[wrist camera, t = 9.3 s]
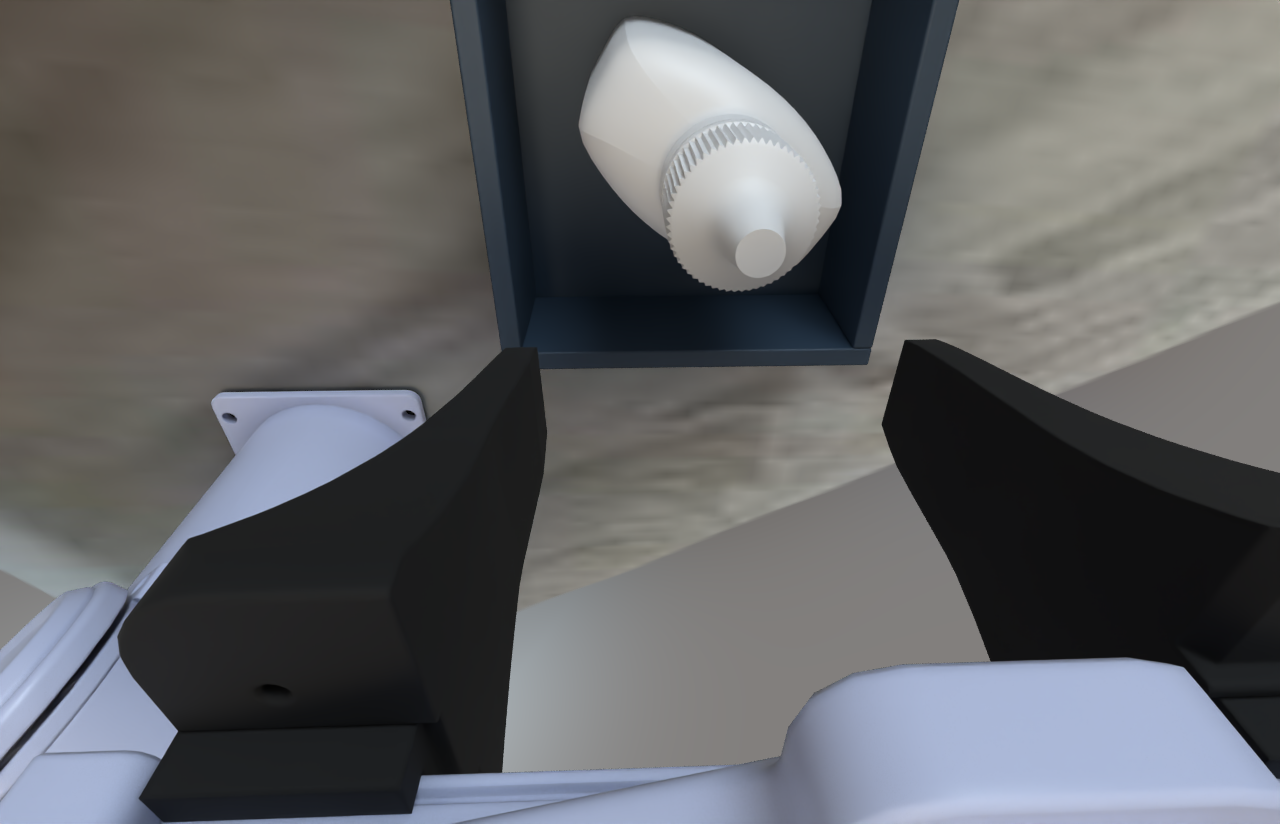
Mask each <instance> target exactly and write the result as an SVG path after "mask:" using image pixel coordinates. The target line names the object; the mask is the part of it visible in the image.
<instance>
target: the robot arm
mask: <svg viewBox="0 0 1280 824" xmlns="http://www.w3.org/2000/svg"><path fill="white" fill-rule="evenodd" d="M211 405H212V408H213V410H214V412H215V414H216V416H217V418H218V420H219V422H220V424H221V426H222V428H223V430H224V433H225V435H226V437H227V439H228V441H229V443H230V445H231V447H232V449H233V451H234V453H235V455H236V456H235V457H234V458H233V459H232V460H231V462H230V463H229V464H228V465H227V467H226V468H225V469H224V470H223V472H222V473H221V474H220V475H219V477H218V478H217V479H216V480H215V482H214V483H213V484H212V485H211V487H210V488H209V489H208V490H207V491H206V493H205V494H204V495H203V496H202V498H201V499H200V500H199V501H198V503H197V504H196V505H195V506H194V508H193V509H192V510H191V511H190V513H189V514H188V515H187V516H186V518H185V519H184V520H183V521H182V522H181V524H180V525H179V526H178V527H177V529H176V530H175V531H174V532H173V534H172V535H171V536H170V537H169V539H168V540H167V541H166V542H165V544H164V545H163V546H162V547H161V549H160V550H159V551H158V552H157V554H156V555H155V556H154V557H153V558H152V560H151V561H150V562H149V563H148V565H147V566H146V567H145V568H144V570H143V571H142V572H141V573H140V575H139V576H138V577H137V578H136V580H135V581H134V582H133V583H132V585H131V586H130V587H129V588H128V589H127V590H126V589H124V588H122V587H120V586H118V585H116V584H114V583H112V582H107V581H104V582H100V583H98V584H96V585H94V586H93V587H85V588H80V589H76V590H71V591H67V592H65V593H63V594H62V595H60V596H59V597H58V598H56V599H55V600H54V601H53V602H51V603H50V604H49V605H48V606H47V607H45V608H44V609H43V610H42V611H41V612H40V613H39V614H38V615H36V617H34V618H33V619H32V620H31V621H30V622H29V623H28V624H27V625H26V626H25V627H24V628H23V629H21V630H20V631H19V632H18V633H17V634H16V635H15V636H14V637H13V638H12V639H11V640H10V641H9V642H8V643H7V644H6V645H5V646H4V647H3V648H2V649H1V650H0V824H1280V473H1278V472H1274V471H1269V470H1266V469H1262V468H1258V467H1254V466H1251V465H1247V464H1243V463H1239V462H1235V461H1231V460H1229V459H1225V458H1222V457H1219V456H1215V455H1212V454H1208V453H1205V452H1202V451H1198V450H1195V449H1192V448H1188V447H1185V446H1182V445H1179V444H1176V443H1173V442H1170V441H1167V440H1164V439H1161V438H1158V437H1155V436H1152V435H1150V434H1147V433H1145V432H1142V431H1139V430H1136V429H1134V428H1131V427H1128V426H1126V425H1123V424H1120V423H1117V422H1115V421H1112V420H1110V419H1107V418H1105V417H1103V416H1100V415H1098V414H1095V413H1093V412H1090V411H1088V410H1086V409H1084V408H1081V407H1079V406H1077V405H1075V404H1072V403H1070V402H1068V401H1066V400H1064V399H1061V398H1059V397H1057V396H1055V395H1053V394H1050V393H1048V392H1046V391H1044V390H1042V389H1040V388H1038V387H1036V386H1034V385H1032V384H1030V383H1028V382H1026V381H1024V380H1022V379H1020V378H1018V377H1016V376H1014V375H1012V374H1010V373H1008V372H1006V371H1004V370H1002V369H1000V368H998V367H996V366H994V365H992V364H990V363H988V362H986V361H984V360H982V359H980V358H978V357H976V356H974V355H972V354H970V353H967V352H965V351H963V350H961V349H959V348H957V347H954V346H952V345H950V344H947V343H945V342H942V341H939V340H936V339H929V340H905V341H904V345H903V348H902V352H901V356H900V359H899V363H898V366H897V370H896V374H895V377H894V381H893V385H892V388H891V392H890V395H889V399H888V403H887V406H886V410H885V414H884V417H883V421H882V427H883V430H884V433H885V436H886V439H887V442H888V445H889V448H890V450H891V453H892V455H893V458H894V461H895V463H896V466H897V467H898V469H899V471H900V473H901V475H902V477H903V479H904V481H905V482H906V484H907V486H908V488H909V490H910V491H911V493H912V495H913V497H914V499H915V500H916V502H917V504H918V506H919V507H920V509H921V511H922V513H923V515H924V516H925V518H926V520H927V522H928V523H929V525H930V527H931V529H932V530H933V532H934V534H935V536H936V538H937V539H938V541H939V543H940V545H941V546H942V548H943V550H944V552H945V553H946V555H947V557H948V559H949V561H950V563H951V565H952V567H953V569H954V571H955V573H956V576H957V578H958V580H959V583H960V585H961V587H962V590H963V592H964V595H965V597H966V599H967V602H968V604H969V606H970V609H971V611H972V614H973V616H974V619H975V621H976V624H977V626H978V629H979V632H980V634H981V637H982V640H983V642H984V645H985V647H986V650H987V653H988V655H989V658H990V661H991V662H964V663H963V662H962V663H933V664H932V663H930V664H902V665H896V666H890V667H885V668H879V669H873V670H868V671H862V672H856V673H852V674H850V675H849V676H846V677H844V678H843V679H841V680H839V681H837V682H835V683H833V684H831V685H829V686H827V687H825V688H823V689H821V690H819V691H817V692H815V693H814V694H813V695H812V697H811V698H810V699H809V700H808V702H807V703H806V705H805V706H804V707H803V708H802V710H801V711H800V712H799V714H798V715H797V716H796V718H795V719H794V720H793V722H792V723H791V724H790V726H789V727H788V731H787V734H786V739H785V742H784V746H783V750H782V754H781V756H779V757H774V758H768V759H763V760H758V761H754V762H749V763H744V764H739V765H712V766H684V767H655V768H626V769H596V770H569V771H567V770H566V771H539V772H511V773H510V772H508V773H502V767H503V753H504V738H505V727H506V716H507V704H508V691H509V680H510V669H511V660H512V650H513V640H514V630H515V621H516V612H517V603H518V594H519V586H520V580H521V574H522V569H523V563H524V559H525V555H526V550H527V546H528V541H529V537H530V532H531V528H532V524H533V519H534V515H535V510H536V506H537V501H538V497H539V492H540V488H541V483H542V478H543V474H544V463H545V452H546V439H547V427H546V418H545V410H544V401H543V392H542V384H541V375H540V367H539V358H538V349H537V347H512V348H505V349H504V350H503V351H502V352H501V353H500V354H499V355H498V356H497V357H496V358H495V359H494V360H493V361H492V362H490V363H489V364H488V365H487V366H486V367H485V368H484V369H483V370H482V371H481V372H480V373H479V374H478V375H477V376H476V377H475V378H474V379H473V380H472V381H471V382H470V383H469V384H468V385H467V386H466V387H465V388H464V389H463V390H462V391H461V392H460V393H459V394H458V395H456V396H455V397H454V398H453V399H452V400H451V401H449V402H448V403H447V404H446V405H445V406H443V407H442V408H441V409H440V410H439V411H437V412H436V413H435V414H434V415H433V416H432V417H430V418H429V419H428V420H427V421H426V417H425V413H424V409H423V405H422V401H421V398H420V396H419V395H418V394H417V393H415V392H413V391H411V390H354V391H280V392H223V393H219V394H218V395H217V396H216V397H215V398H214V399H213V400H212V402H211ZM406 410H409V411H412V412H414V413H415V415H409V414H408V413H406ZM229 413H231V414H233V415H234V416H235V417H236V418H235V417H232V416H230V415H229Z"/></svg>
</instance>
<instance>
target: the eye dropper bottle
mask: <svg viewBox="0 0 1280 824" xmlns="http://www.w3.org/2000/svg"><path fill="white" fill-rule="evenodd" d="M578 126H579V130H580V134H581V138H582V141H583V144H584V146H585V148H586V150H587V152H588V154H589V155H590V157H591V159H592V161H593V162H594V164H595V165H596V167H597V168H598V170H599V171H600V173H601V174H602V176H603V177H604V178H605V180H606V181H607V182H608V184H609V185H610V186H611V187H612V189H613V190H614V191H615V192H616V194H617V195H618V196H619V197H620V198H621V200H622V201H623V202H624V203H625V204H626V205H627V206H628V207H629V208H630V209H631V210H632V211H633V212H634V213H635V214H636V215H637V216H638V217H639V218H640V219H642V220H643V221H644V222H645V223H646V224H647V225H649V226H650V227H651V228H652V229H654V230H655V231H656V232H657V233H659V234H660V235H662V236H663V237H664V238H666V239H667V240H668V242H669V243H670V248H671V250H673V254H674V256H675V257H677V261H678V263H680V264H681V265H682V268H683V269H686V270H687V274H691V275H692V277H693V278H694V279H698V281H699V282H703V283H705V286H710V285H711V286H712V288H718V289H719V290H723V289H725V290H726V292H727V291H730V290H732V291H733V292H735V291H738V290H739V291H741V292H742V291H744V290H748V291H750V290H751V289H753V288H754V289H757V288H759V287H760V286H763V287H764V286H765V285H766V284H771V283H772V282H773V281H774V280H778V279H779V278H780V276H784V275H785V274H786V272H788V271H790V270H791V269H792V267H793V266H795V265H797V264H798V263H799V262H800V261H801V260H802V259H803V258H804V257H805V256H806V255H807V254H808V253H809V251H810V250H811V249H812V248H813V247H814V246H815V244H816V243H817V242H818V241H819V240H820V238H821V237H822V236H823V235H824V233H825V232H826V231H827V230H828V228H829V227H830V225H831V224H832V223H833V221H834V220H835V219H836V217H837V214H838V212H839V210H840V207H841V204H842V198H841V187H840V184H839V181H838V177H837V175H836V172H835V170H834V168H833V166H832V163H831V161H830V159H829V157H828V156H827V154H826V152H825V150H824V148H823V147H822V145H821V143H820V142H819V140H818V139H817V137H816V135H815V134H814V133H813V131H812V130H811V129H810V127H809V126H808V125H807V123H806V122H805V121H804V120H803V118H802V117H801V116H800V115H799V114H798V113H797V111H796V110H795V109H794V108H793V107H792V106H791V105H790V104H789V103H788V102H787V101H786V100H785V99H784V98H783V97H782V96H780V95H779V94H778V93H777V92H776V91H775V90H774V89H772V88H771V87H770V86H769V85H768V84H766V83H765V82H764V81H762V80H761V79H760V78H758V77H757V76H756V75H754V74H753V73H751V72H750V71H749V70H747V69H746V68H744V67H743V66H742V65H740V64H739V63H737V62H736V61H734V60H733V59H731V58H730V57H729V56H727V55H726V54H724V53H723V52H721V51H720V50H718V49H717V48H716V47H714V46H713V45H711V44H709V43H708V42H706V41H705V40H703V39H702V38H700V37H698V36H696V35H694V34H693V33H691V32H688V31H686V30H684V29H682V28H680V27H677V26H675V25H672V24H669V23H666V22H663V21H660V20H656V19H652V18H648V17H641V16H632V17H627V18H624V19H623V20H622V21H621V22H620V23H619V24H618V25H617V26H616V27H615V29H614V31H613V32H612V34H611V36H610V37H609V39H608V41H607V43H606V45H605V47H604V49H603V51H602V52H601V54H600V56H599V58H598V60H597V62H596V64H595V66H594V68H593V70H592V72H591V75H590V78H589V82H588V85H587V89H586V92H585V96H584V100H583V104H582V108H581V113H580V119H579V125H578Z"/></svg>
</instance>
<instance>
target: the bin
mask: <svg viewBox="0 0 1280 824" xmlns="http://www.w3.org/2000/svg"><path fill="white" fill-rule="evenodd" d="M958 3H959V0H450V4H451V11H452V18H453V24H454V31H455V38H456V45H457V51H458V58H459V65H460V72H461V79H462V85H463V92H464V99H465V106H466V113H467V119H468V126H469V133H470V140H471V147H472V153H473V160H474V167H475V174H476V180H477V187H478V194H479V201H480V208H481V214H482V221H483V228H484V235H485V242H486V248H487V255H488V262H489V269H490V276H491V282H492V289H493V296H494V303H495V309H496V316H497V323H498V330H499V337H500V343H501V350H502V351H503V350H504V349H505V348H512V347H537V349H538V358H539V367H540V369H580V368H658V367H736V366H814V365H867V364H868V361H869V357H870V353H871V347H872V345H873V341H874V337H875V333H876V329H877V325H878V321H879V317H880V313H881V309H882V305H883V301H884V297H885V293H886V289H887V285H888V281H889V277H890V273H891V269H892V265H893V261H894V257H895V253H896V249H897V245H898V241H899V237H900V233H901V230H902V226H903V222H904V218H905V214H906V210H907V206H908V202H909V198H910V194H911V190H912V186H913V182H914V178H915V174H916V170H917V166H918V162H919V158H920V154H921V150H922V146H923V142H924V138H925V134H926V130H927V126H928V122H929V118H930V114H931V110H932V106H933V102H934V98H935V94H936V90H937V86H938V82H939V78H940V74H941V70H942V66H943V62H944V58H945V54H946V50H947V47H948V43H949V39H950V35H951V31H952V27H953V23H954V19H955V15H956V11H957V7H958ZM632 16H641V17H648V18H652V19H656V20H660V21H663V22H666V23H669V24H672V25H675V26H677V27H680V28H682V29H684V30H686V31H688V32H691V33H693V34H694V35H696V36H698V37H700V38H702V39H703V40H705V41H706V42H708V43H709V44H711V45H713V46H714V47H716V48H717V49H718V50H720V51H721V52H723V53H724V54H726V55H727V56H729V57H730V58H731V59H733V60H734V61H736V62H737V63H739V64H740V65H742V66H743V67H744V68H746V69H747V70H749V71H750V72H751V73H753V74H754V75H756V76H757V77H758V78H760V79H761V80H762V81H764V82H765V83H766V84H768V85H769V86H770V87H771V88H772V89H774V90H775V91H776V92H777V93H778V94H779V95H780V96H782V97H783V98H784V99H785V100H786V101H787V102H788V103H789V104H790V105H791V106H792V107H793V108H794V109H795V110H796V111H797V113H798V114H799V115H800V116H801V117H802V118H803V120H804V121H805V122H806V123H807V125H808V126H809V127H810V129H811V130H812V131H813V133H814V134H815V135H816V137H817V139H818V140H819V142H820V143H821V145H822V147H823V148H824V150H825V152H826V154H827V156H828V157H829V159H830V161H831V163H832V166H833V168H834V170H835V172H836V175H837V177H838V181H839V184H840V187H841V198H842V204H841V207H840V210H839V212H838V214H837V217H836V219H835V220H834V221H833V223H832V224H831V225H830V227H829V228H828V230H827V231H826V232H825V233H824V235H823V236H822V237H821V238H820V240H819V241H818V242H817V243H816V244H815V246H814V247H813V248H812V249H811V250H810V251H809V253H808V254H807V255H806V256H805V257H804V258H803V259H802V260H801V261H800V262H799V263H798V264H797V265H795V266H793V267H792V269H791V270H790V271H788V272H786V274H785V275H784V276H780V278H779V279H778V280H774V281H773V282H772V283H771V284H766V285H765V286H764V287H763V286H760V287H759V288H757V289H754V288H753V289H751V290H750V291H748V290H744V291H742V292H741V291H739V290H738V291H735V292H733V291H732V290H730V291H727V292H726V290H725V289H723V290H719V289H718V288H712V286H711V285H710V286H705V283H703V282H699V281H698V279H694V278H693V277H692V275H691V274H687V270H686V269H683V268H682V265H681V264H680V263H678V261H677V257H675V256H674V254H673V250H671V248H670V243H669V242H668V240H667V239H666V238H664V237H663V236H662V235H660V234H659V233H657V232H656V231H655V230H654V229H652V228H651V227H650V226H649V225H647V224H646V223H645V222H644V221H643V220H642V219H640V218H639V217H638V216H637V215H636V214H635V213H634V212H633V211H632V210H631V209H630V208H629V207H628V206H627V205H626V204H625V203H624V202H623V201H622V200H621V198H620V197H619V196H618V195H617V194H616V192H615V191H614V190H613V189H612V187H611V186H610V185H609V184H608V182H607V181H606V180H605V178H604V177H603V176H602V174H601V173H600V171H599V170H598V168H597V167H596V165H595V164H594V162H593V161H592V159H591V157H590V155H589V154H588V152H587V150H586V148H585V146H584V144H583V141H582V138H581V134H580V130H579V126H578V125H579V119H580V113H581V108H582V104H583V100H584V96H585V92H586V89H587V85H588V82H589V78H590V75H591V72H592V70H593V68H594V66H595V64H596V62H597V60H598V58H599V56H600V54H601V52H602V51H603V49H604V47H605V45H606V43H607V41H608V39H609V37H610V36H611V34H612V32H613V31H614V29H615V27H616V26H617V25H618V24H619V23H620V22H621V21H622V20H623V19H624V18H627V17H632Z"/></svg>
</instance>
